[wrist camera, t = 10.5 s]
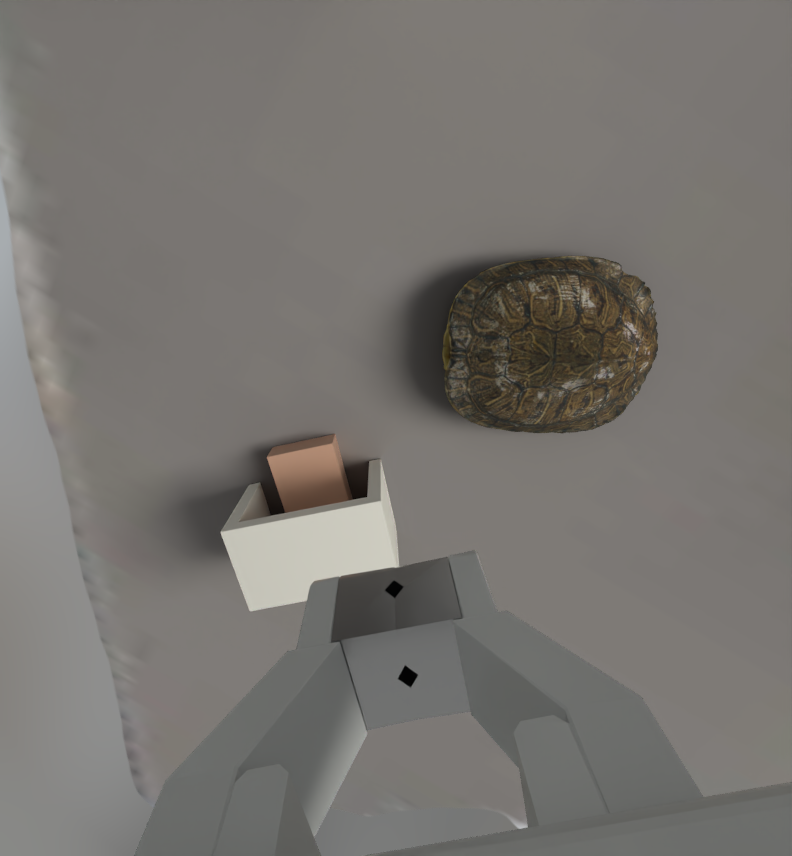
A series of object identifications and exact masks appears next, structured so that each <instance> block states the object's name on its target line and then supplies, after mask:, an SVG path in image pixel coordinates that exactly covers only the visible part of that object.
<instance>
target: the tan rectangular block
mask: <svg viewBox="0 0 792 856" xmlns="http://www.w3.org/2000/svg"><path fill="white" fill-rule="evenodd" d="M267 459H268V462H269V465H270V468H271V471H272V474H273V477H274V480H275V483H276V486H277V490H278V493H279V496H280V499H281V502H282V505H283V508H284V511H285V513H288V512H293V511H298V510H303V509H308V508H313V507H319V506H324V505H329V504H334V503H339V502H344V501H349V500H353V498H352V495H351V491H350V487H349V484H348V480H347V476H346V473H345V469H344V465H343V462H342V458H341V454H340V451H339V447H338V443H337V440H336V436H335V434H333V435H328V436H323V437H319V438H314V439H309V440H304V441H300V442H295V443H290V444H286V445H281V446H276V447H273V448H272V449H271V451H270V453H269V454H268V456H267Z"/></svg>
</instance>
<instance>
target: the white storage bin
mask: <svg viewBox="0 0 792 856" xmlns="http://www.w3.org/2000/svg"><path fill="white" fill-rule="evenodd" d="M220 533H221V535H222V538H223V541H224V543H225V546H226V549H227V551H228V554H229V557H230V559H231V562H232V565H233V567H234V570H235V573H236V575H237V578H238V581H239V583H240V586H241V589H242V591H243V594H244V597H245V600H246V602H247V605H248V608H249V610H250V611H255V610H260V609H265V608H271V607H276V606H281V605H286V604H292V603H297V602H302V601H307V598H308V593H309V589H310V586H311V584H312V583H313V582H314V581H317V580H322V579H327V578H332V577H338V576H339V577H341V576H343V575H349V574H355V573H361V572H367V571H373V570H379V569H385V568H391V567H399V559H398V544H397V529H396V525H395V520H394V516H393V511H392V507H391V503H390V498H389V494H388V489H387V485H386V481H385V476H384V472H383V467H382V463H381V459H377V460H371V461H369V474H368V493H367V497H365V498H360V499H354V500H349V501H344V502H339V503H334V504H329V505H324V506H319V507H313V508H308V509H303V510H298V511H293V512H288V513H283V514H278V515H272V516H271V514H270V511H269V508H268V504H267V501H266V498H265V495H264V492H263V489H262V486H261V483H255V484H250V485H249V486H248V487H247V489H246V491H245V492H244V494H243V496H242V497H241V499H240V501H239V502H238V504H237V505H236V507H235V509H234V510H233V512H232V514H231V515H230V517H229V519H228V520H227V522H226V524H225V525H224V527H223V529H222V530H221V532H220Z"/></svg>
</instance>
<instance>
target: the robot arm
mask: <svg viewBox="0 0 792 856" xmlns="http://www.w3.org/2000/svg"><path fill="white" fill-rule="evenodd" d="M465 712H471V715H472V716H473V717H474V718H475V719H476V720H477V721H478V723H479V724H480V725H481V726H482V727H483V728H484V729H485V730H486V732H487V733H488V734H489V735H490V736H491V737H492V738H493V740H494V741H495V742H496V743H497V744H498V745H499V746H500V748H501V749H502V750H503V751H504V752H505V753H506V754H507V756H508V757H509V758H510V759H511V760H512V761H513V762H514V764H515V765H516V766H517V767H518V768H519V771H520V778H521V785H522V791H523V798H524V804H525V811H526V817H527V824H528V828H523V829H517V830H511V831H506V832H500V833H494V834H488V835H482V836H476V837H470V838H464V839H459V840H453V841H447V842H441V843H435V844H429V845H423V846H417V847H412V848H406V849H401V850H394V851H389V852H383V853H376V854H370V855H365V856H792V782H789V783H783V784H777V785H771V786H766V787H760V788H754V789H748V790H742V791H736V792H730V793H725V794H719V795H713V796H707V797H703V795H702V794H701V792H700V790H699V789H698V787H697V786H696V784H695V782H694V781H693V779H692V777H691V776H690V774H689V773H688V771H687V769H686V768H685V766H684V764H683V763H682V761H681V760H680V758H679V756H678V755H677V753H676V751H675V750H674V748H673V747H672V745H671V743H670V742H669V740H668V738H667V737H666V735H665V734H664V732H663V730H662V729H661V727H660V726H659V724H658V722H657V721H656V719H655V717H654V716H653V714H652V713H651V711H650V709H649V708H648V706H647V704H646V703H645V701H644V700H643V698H642V697H641V696H640V695H638V694H636V693H635V692H633V691H632V690H630V689H629V688H627V687H625V686H624V685H622V684H621V683H619V682H618V681H616V680H615V679H613V678H611V677H610V676H608V675H607V674H605V673H604V672H602V671H600V670H599V669H597V668H596V667H594V666H593V665H591V664H590V663H588V662H586V661H585V660H583V659H582V658H580V657H579V656H577V655H576V654H574V653H572V652H571V651H569V650H568V649H566V648H565V647H563V646H561V645H560V644H558V643H557V642H555V641H554V640H552V639H551V638H549V637H547V636H546V635H544V634H543V633H541V632H540V631H538V630H536V629H535V628H533V627H532V626H530V625H529V624H527V623H526V622H524V621H522V620H521V619H519V618H518V617H516V616H515V615H513V614H512V613H510V612H508V611H501V612H498V610H497V608H496V605H495V602H494V599H493V596H492V593H491V591H490V588H489V585H488V582H487V579H486V576H485V573H484V571H483V568H482V565H481V562H480V559H479V556H478V554H477V552H476V551H475V550H472V551H468V552H464V553H459V554H455V555H450V556H448V557H444V558H439V559H434V560H429V561H424V562H420V563H415V564H410V565H405V566H400V567H391V568H385V569H379V570H373V571H367V572H361V573H355V574H349V575H343V576H341V577H339V576H338V577H332V578H327V579H322V580H317V581H314V582H313V583H312V584H311V586H310V589H309V593H308V598H307V602H306V607H305V611H304V616H303V620H302V625H301V630H300V634H299V639H298V643H297V648H296V650H291V651H287V652H286V653H285V654H284V656H283V657H282V658H281V659H280V660H279V661H278V662H277V663H276V664H275V665H274V666H273V667H272V668H271V669H270V670H269V671H268V673H267V674H266V675H265V676H264V677H263V678H262V679H261V680H260V681H259V682H258V683H257V684H256V685H255V686H254V687H253V688H252V689H251V691H250V692H249V693H248V694H247V695H246V696H245V697H244V698H243V699H242V700H241V701H240V702H239V703H238V704H237V705H236V706H235V708H234V709H233V710H232V711H231V712H230V713H229V714H228V715H227V716H226V717H225V718H224V719H223V720H222V721H221V722H220V723H219V725H218V726H217V727H216V728H215V729H214V730H213V731H212V732H211V733H210V734H209V735H208V736H207V737H206V738H205V739H204V740H203V741H202V743H201V744H200V745H199V746H198V747H197V748H196V749H195V750H194V751H193V752H192V753H191V754H190V755H189V756H188V757H187V758H186V760H185V761H184V762H183V763H182V764H181V765H180V766H179V767H178V768H177V769H176V770H175V771H174V772H173V773H172V774H171V775H170V776H169V778H168V779H167V780H166V781H165V783H164V785H163V788H162V790H161V792H160V795H159V797H158V800H157V802H156V804H155V807H154V809H153V812H152V814H151V816H150V819H149V821H148V823H147V826H146V828H145V831H144V833H143V835H142V838H141V840H140V842H139V845H138V847H137V849H136V852H135V854H134V856H321V854H320V852H319V849H318V846H317V844H316V841H315V839H314V837H315V835H316V833H317V831H318V829H319V827H320V825H321V823H322V821H323V819H324V817H325V816H326V814H327V812H328V810H329V808H330V806H331V804H332V802H333V800H334V798H335V796H336V794H337V792H338V790H339V788H340V786H341V784H342V782H343V780H344V778H345V777H346V775H347V773H348V771H349V769H350V767H351V765H352V763H353V761H354V759H355V757H356V755H357V753H358V751H359V749H360V747H361V745H362V743H363V741H364V739H365V737H366V736H367V731H366V730H371V729H375V728H380V727H385V726H390V725H394V724H399V723H404V722H408V721H413V720H418V718H419V719H425V718H431V717H438V716H445V715H451V714H458V713H465Z"/></svg>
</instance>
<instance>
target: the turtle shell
mask: <svg viewBox="0 0 792 856" xmlns="http://www.w3.org/2000/svg"><path fill="white" fill-rule="evenodd" d="M644 284H645V282H643V281H641V280H640V279H639V277H637V276H631V275H628V274H626V273H624V272H623V271H622V267H621V265H620V264H618V263H617V262H613V261H610V260H606V259H603V258H596V257H587V256H563V257H555V258H541V259H532V260H525V261H518V262H512V263H506V264H502V265H499V266H495V267H492V268H490V269H487V270H485V271H483V272H481V273H479V275H478V276H477V277H476V278H474V279H472V280H470V281H468V282H467V283H466V285H465V286H464V287H463V288H462V289H461V290H460V291H459V292H458V294H457V296H456V297H455V299H454V301H453V304H452V306H451V309H450V313H449V317H448V324H447V329H446V332H445V334H444V339H443V350H442V357H443V362H444V369H445V370H446V373H445V376H444V377H445V391H446V395H447V398H448V400H449V402H450V404H451V406H452V407H453V408H454V409H455V410H456V411H457V412H458V413H459V414H460V415H462V416H463V417H464V418H466V419H467V420H469V421H471V422H473V423H476V424H479V425H481V426H485V427H489V428H495V429H502V430H508V431H515V432H520V431H524V432H533V433H549V432H555V433H565V432H578V431H587V430H592V429H594V428H597V427H599V426H602V425H604V424H605V423H609V422H611V421H613V420H614V419H616V418H617V417H618V416H619V415H620V414H622V413H623V412H624V410H625V409H626V407H627V405H628V404H629V403H630V402H631V401H632V400H633V399H634V397H635V395H637V394H638V392H639V390H640V388H641V385H642V384H643V382H644V381H645V379H646V376H647V374H648V372H649V371H650V369H651V368H652V363H653V361H654V360H655V357H656V352H657V351H658V344H657V335H658V333H657V329H656V326H657V322H656V319H655V315H656V313H655V311H654V309H653V308H652V306H653V303H654V301H653V300H652V299H651V291H650V289H649V288H648V287H646V286H644Z"/></svg>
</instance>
